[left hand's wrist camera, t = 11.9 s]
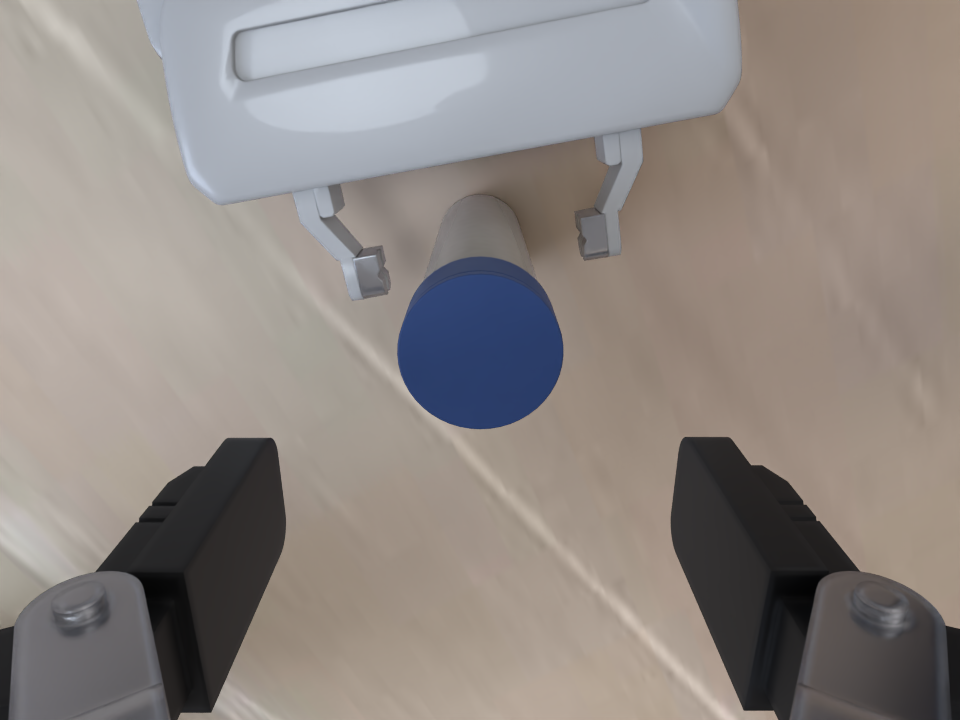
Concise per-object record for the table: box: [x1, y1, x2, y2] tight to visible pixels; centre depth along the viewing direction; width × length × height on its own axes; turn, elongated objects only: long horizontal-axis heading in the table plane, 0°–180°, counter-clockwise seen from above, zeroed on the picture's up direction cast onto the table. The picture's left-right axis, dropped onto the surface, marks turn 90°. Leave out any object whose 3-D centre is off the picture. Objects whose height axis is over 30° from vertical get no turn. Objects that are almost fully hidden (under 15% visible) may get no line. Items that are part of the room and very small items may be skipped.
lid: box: [397, 256, 563, 429], centre depth 18 cm, size 4×4×2 cm
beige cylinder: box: [423, 194, 538, 282], centre depth 25 cm, size 4×4×16 cm
